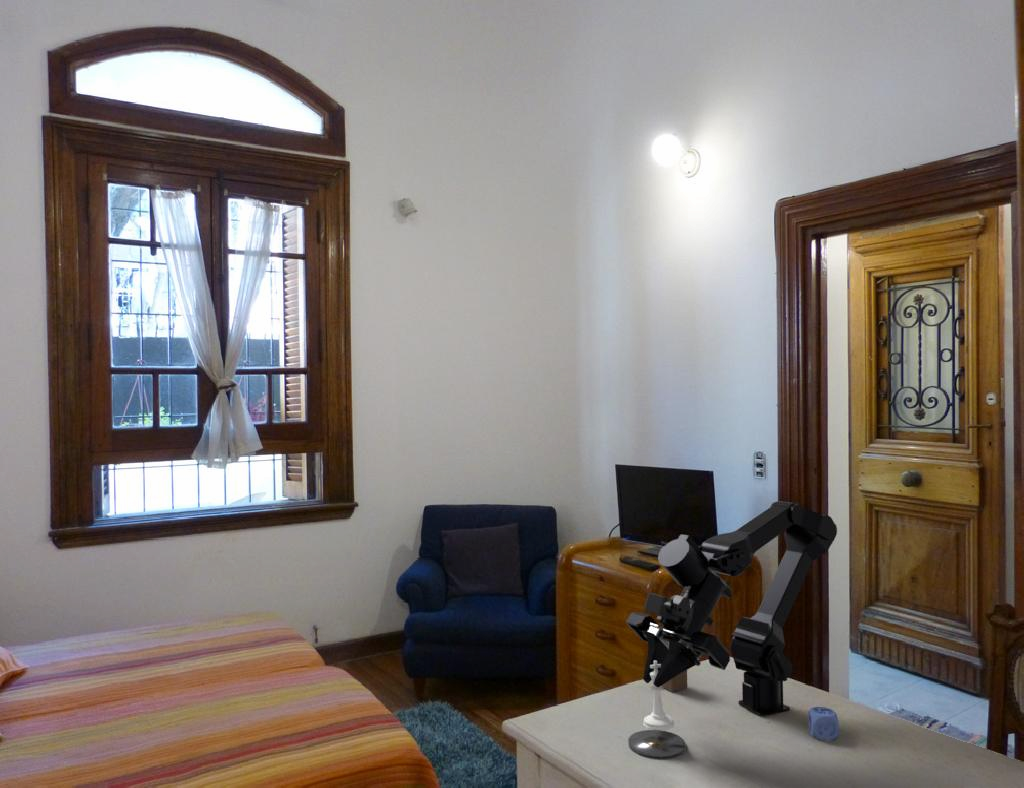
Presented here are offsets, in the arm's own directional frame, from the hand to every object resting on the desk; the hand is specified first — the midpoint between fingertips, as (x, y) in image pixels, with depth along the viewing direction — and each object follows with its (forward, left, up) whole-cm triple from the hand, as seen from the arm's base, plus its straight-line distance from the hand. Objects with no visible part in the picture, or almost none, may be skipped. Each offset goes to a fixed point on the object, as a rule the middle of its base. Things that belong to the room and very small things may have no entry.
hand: (650, 683), depth 122 cm
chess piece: (-1, 0, -7) cm, 7 cm away
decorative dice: (-28, +8, -10) cm, 31 cm away
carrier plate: (-1, 0, -10) cm, 10 cm away
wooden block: (-18, -20, -10) cm, 29 cm away
